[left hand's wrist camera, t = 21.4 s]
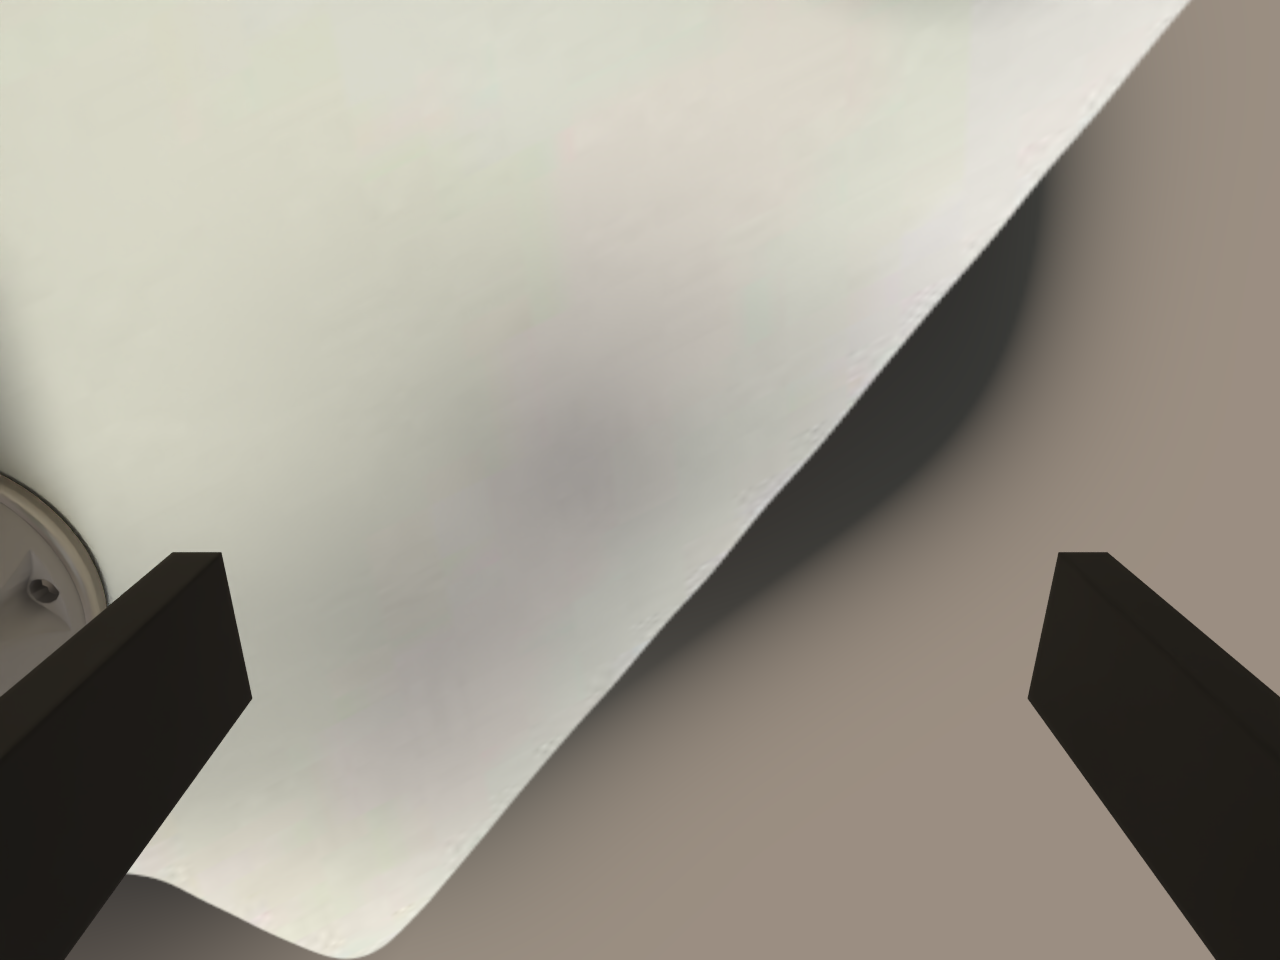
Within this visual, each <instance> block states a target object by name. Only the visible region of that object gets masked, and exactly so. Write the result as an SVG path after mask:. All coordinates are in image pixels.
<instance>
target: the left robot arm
mask: <svg viewBox="0 0 1280 960" xmlns="http://www.w3.org/2000/svg"><path fill="white" fill-rule="evenodd" d="M251 700H252V695H251V690H250V685H249V680H248V676H247V671H246V666H245V661H244V657H243V652H242V647H241V643H240V638H239V633H238V628H237V624H236V619H235V614H234V609H233V605H232V600H231V595H230V591H229V586H228V581H227V576H226V572H225V567H224V562H223V557H222V553H221V552H172V553H171V554H170V555H169V556H168V557H166V558H165V559H164V560H163V561H162V562H160V563H159V564H158V565H157V566H156V567H155V568H153V569H152V570H151V571H150V572H149V573H147V574H146V575H145V576H144V577H143V578H141V579H140V580H139V581H138V582H137V583H135V584H134V585H133V586H132V587H131V588H129V589H128V590H127V591H126V592H125V593H124V594H122V595H121V596H120V597H119V598H118V599H116V600H115V601H114V602H113V603H112V604H110V605H109V606H108V607H106V599H105V594H104V589H103V586H102V583H101V580H100V577H99V575H98V572H97V570H96V567H95V565H94V563H93V561H92V560H91V558H90V556H89V554H88V552H87V551H86V549H85V548H84V546H83V545H82V543H81V541H80V540H79V539H78V537H77V536H76V535H75V534H74V532H73V531H72V530H71V528H70V527H69V526H68V525H67V524H66V523H65V522H64V521H63V520H62V519H61V518H60V516H58V515H57V514H56V513H55V512H54V511H53V510H52V509H51V508H50V507H49V506H48V505H46V504H45V503H44V502H43V501H41V500H40V499H39V498H38V497H36V496H35V495H34V494H32V493H31V492H29V491H28V490H27V489H25V488H24V487H22V486H21V485H19V484H17V483H15V482H14V481H12V480H10V479H9V478H7V477H5V476H3V475H1V474H0V960H64V959H65V958H66V957H67V955H68V954H69V952H70V951H71V950H72V948H73V947H74V945H75V944H76V943H77V941H78V940H79V938H80V937H81V936H82V934H83V933H84V932H85V930H86V929H87V927H88V926H89V925H90V923H91V922H92V920H93V919H94V918H95V916H96V915H97V913H98V912H99V911H100V909H101V908H102V907H103V905H104V904H105V902H106V901H107V900H108V898H109V897H110V895H111V894H112V893H113V891H114V890H115V888H116V887H117V886H118V884H119V883H120V882H121V880H122V879H123V877H124V876H125V875H126V873H127V872H128V870H129V869H130V868H131V866H132V865H133V864H134V862H135V861H136V859H137V858H138V857H139V855H140V854H141V852H142V851H143V850H144V848H145V847H146V845H147V844H148V843H149V841H150V840H151V839H152V837H153V836H154V834H155V833H156V832H157V830H158V829H159V827H160V826H161V825H162V823H163V822H164V820H165V819H166V818H167V816H168V815H169V814H170V812H171V811H172V809H173V808H174V807H175V805H176V804H177V802H178V801H179V800H180V798H181V797H182V795H183V794H184V793H185V791H186V790H187V789H188V787H189V786H190V784H191V783H192V782H193V780H194V779H195V777H196V776H197V775H198V773H199V772H200V770H201V769H202V768H203V766H204V765H205V764H206V762H207V761H208V759H209V758H210V757H211V755H212V754H213V752H214V751H215V750H216V748H217V747H218V745H219V744H220V743H221V741H222V740H223V739H224V737H225V736H226V734H227V733H228V732H229V730H230V729H231V727H232V726H233V725H234V723H235V722H236V720H237V719H238V718H239V716H240V715H241V714H242V712H243V711H244V709H245V708H246V707H247V705H248V704H249V702H250V701H251ZM1028 700H1029V701H1030V702H1031V704H1032V705H1033V707H1034V708H1035V709H1036V711H1037V712H1038V714H1039V715H1040V716H1041V718H1042V719H1043V720H1044V722H1045V723H1046V725H1047V726H1048V727H1049V729H1050V730H1051V732H1052V733H1053V734H1054V736H1055V737H1056V739H1057V740H1058V741H1059V743H1060V744H1061V745H1062V747H1063V748H1064V750H1065V751H1066V752H1067V754H1068V755H1069V757H1070V758H1071V759H1072V761H1073V762H1074V764H1075V765H1076V766H1077V768H1078V769H1079V770H1080V772H1081V773H1082V775H1083V776H1084V777H1085V779H1086V780H1087V782H1088V783H1089V784H1090V786H1091V787H1092V789H1093V790H1094V791H1095V793H1096V794H1097V795H1098V797H1099V798H1100V800H1101V801H1102V802H1103V804H1104V805H1105V807H1106V808H1107V809H1108V811H1109V812H1110V814H1111V815H1112V816H1113V818H1114V819H1115V820H1116V822H1117V823H1118V825H1119V826H1120V827H1121V829H1122V830H1123V832H1124V833H1125V834H1126V836H1127V837H1128V839H1129V840H1130V841H1131V843H1132V844H1133V845H1134V847H1135V848H1136V850H1137V851H1138V852H1139V854H1140V855H1141V857H1142V858H1143V859H1144V861H1145V862H1146V864H1147V865H1148V866H1149V868H1150V869H1151V870H1152V872H1153V873H1154V875H1155V876H1156V877H1157V879H1158V880H1159V882H1160V883H1161V884H1162V886H1163V887H1164V888H1165V890H1166V891H1167V893H1168V894H1169V895H1170V897H1171V898H1172V900H1173V901H1174V902H1175V904H1176V905H1177V907H1178V908H1179V909H1180V911H1181V912H1182V913H1183V915H1184V916H1185V918H1186V919H1187V920H1188V922H1189V923H1190V925H1191V926H1192V927H1193V929H1194V930H1195V932H1196V933H1197V934H1198V936H1199V937H1200V938H1201V940H1202V941H1203V943H1204V944H1205V945H1206V947H1207V948H1208V950H1209V951H1210V952H1211V954H1212V955H1213V956H1214V958H1215V959H1216V960H1280V697H1279V696H1278V695H1277V694H1276V693H1274V692H1273V691H1272V690H1271V689H1270V688H1269V687H1267V686H1266V685H1265V684H1264V683H1263V682H1261V681H1260V680H1259V679H1258V678H1257V677H1255V676H1254V675H1253V674H1252V673H1251V672H1249V671H1248V670H1247V669H1246V668H1245V667H1243V666H1242V665H1241V664H1240V663H1239V662H1238V661H1236V660H1235V659H1234V658H1233V657H1232V656H1230V655H1229V654H1228V653H1227V652H1226V651H1224V650H1223V649H1222V648H1221V647H1220V646H1218V645H1217V644H1216V643H1215V642H1214V641H1212V640H1211V639H1210V638H1209V637H1208V636H1207V635H1205V634H1204V633H1203V632H1202V631H1201V630H1199V629H1198V628H1197V627H1196V626H1195V625H1193V624H1192V623H1191V622H1190V621H1189V620H1187V619H1186V618H1185V617H1184V616H1183V615H1181V614H1180V613H1179V612H1178V611H1177V610H1176V609H1174V608H1173V607H1172V606H1171V605H1170V604H1168V603H1167V602H1166V601H1165V600H1164V599H1162V598H1161V597H1160V596H1159V595H1158V594H1156V593H1155V592H1154V591H1153V590H1152V589H1151V588H1149V587H1148V586H1147V585H1146V584H1145V583H1143V582H1142V581H1141V580H1140V579H1139V578H1137V577H1136V576H1135V575H1134V574H1133V573H1131V572H1130V571H1129V570H1128V569H1127V568H1125V567H1124V566H1123V565H1122V564H1121V563H1120V562H1118V561H1117V560H1116V559H1115V558H1114V557H1112V556H1111V555H1110V554H1109V553H1107V552H1059V553H1058V558H1057V562H1056V567H1055V572H1054V576H1053V581H1052V586H1051V591H1050V595H1049V600H1048V605H1047V609H1046V614H1045V619H1044V624H1043V628H1042V633H1041V638H1040V643H1039V647H1038V652H1037V657H1036V661H1035V666H1034V671H1033V676H1032V680H1031V685H1030V690H1029V695H1028Z"/></svg>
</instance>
